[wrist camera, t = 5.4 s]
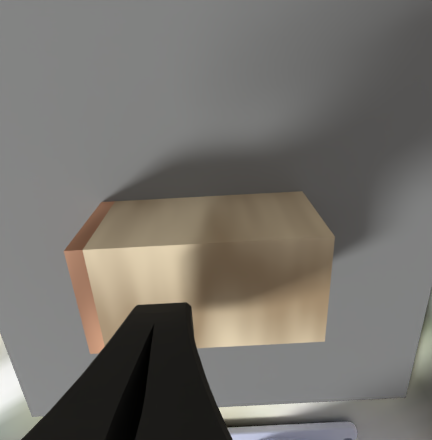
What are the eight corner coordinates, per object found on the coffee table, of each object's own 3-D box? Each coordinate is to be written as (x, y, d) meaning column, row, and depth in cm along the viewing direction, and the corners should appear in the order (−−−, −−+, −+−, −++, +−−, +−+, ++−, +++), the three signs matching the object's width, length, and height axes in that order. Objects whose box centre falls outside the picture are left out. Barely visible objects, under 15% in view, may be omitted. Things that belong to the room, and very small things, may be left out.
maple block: (117, 286, 14) (297, 276, 14) (90, 353, 11) (324, 341, 11) (101, 202, 13) (301, 191, 13) (63, 250, 9) (335, 236, 9)
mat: (401, 390, 17) (405, 397, 17) (35, 409, 18) (32, 416, 17) (525, -158, 9) (538, -167, 9) (-160, -119, 9) (-175, -127, 9)
